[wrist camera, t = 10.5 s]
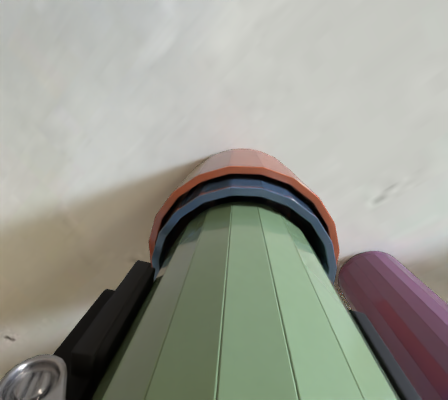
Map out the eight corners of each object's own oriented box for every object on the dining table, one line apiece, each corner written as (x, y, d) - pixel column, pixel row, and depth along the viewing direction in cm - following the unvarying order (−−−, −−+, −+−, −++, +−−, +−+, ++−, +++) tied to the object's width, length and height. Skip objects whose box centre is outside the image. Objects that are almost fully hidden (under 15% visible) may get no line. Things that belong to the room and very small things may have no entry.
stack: (174, 174, 20) (122, 216, 11) (281, 143, 19) (318, 162, 10) (207, 264, 23) (187, 355, 14) (303, 242, 22) (348, 328, 13)
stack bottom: (163, 169, 20) (118, 197, 13) (287, 131, 19) (320, 139, 11) (203, 271, 23) (185, 343, 16) (312, 247, 22) (350, 314, 14)
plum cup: (333, 258, 22) (442, 417, 10) (399, 244, 21) (600, 400, 9) (342, 306, 24) (444, 490, 12) (403, 295, 23) (579, 481, 11)
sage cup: (152, 221, 12) (-294, 742, 2) (295, 183, 11) (961, 911, 1) (198, 329, 15) (98, 845, 4) (322, 306, 13) (604, 932, 3)
